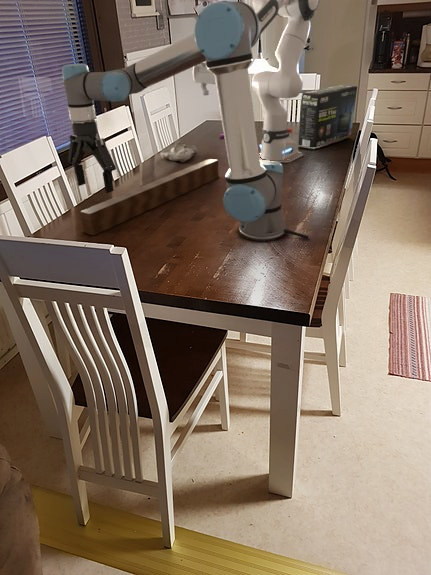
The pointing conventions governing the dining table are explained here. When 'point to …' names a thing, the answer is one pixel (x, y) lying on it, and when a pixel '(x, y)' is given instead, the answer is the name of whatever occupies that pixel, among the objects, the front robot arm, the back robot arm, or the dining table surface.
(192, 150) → the fossil
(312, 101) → the router box
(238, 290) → the dining table surface
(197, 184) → the bar
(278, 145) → the back robot arm
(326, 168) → the dining table surface
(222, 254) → the dining table surface
